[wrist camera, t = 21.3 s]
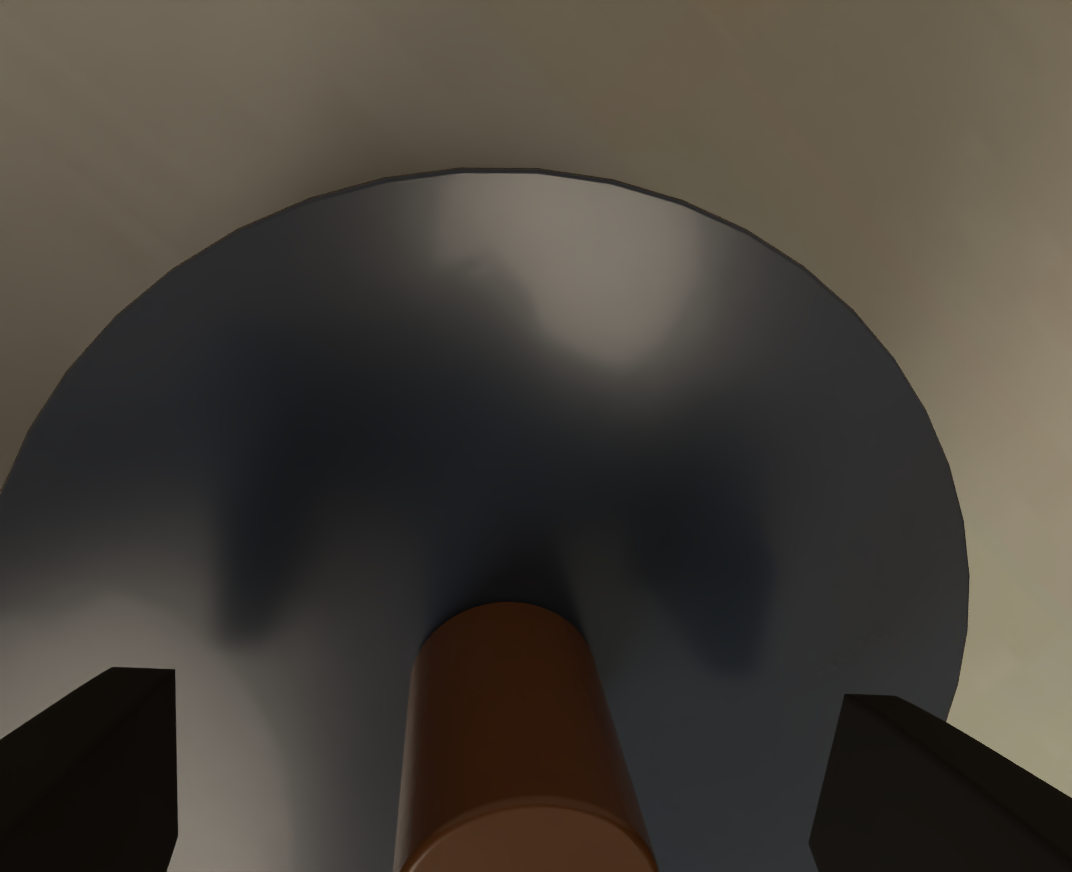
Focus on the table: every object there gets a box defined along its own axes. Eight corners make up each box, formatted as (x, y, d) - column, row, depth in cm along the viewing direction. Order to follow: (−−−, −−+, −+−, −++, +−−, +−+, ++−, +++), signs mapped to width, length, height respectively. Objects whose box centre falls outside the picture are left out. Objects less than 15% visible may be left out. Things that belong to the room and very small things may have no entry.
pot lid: (198, 1058, 13) (65, 1502, 8) (-147, 288, 9) (-699, 366, 5) (941, 877, 13) (1180, 1207, 9) (900, 77, 10) (1272, -26, 5)
